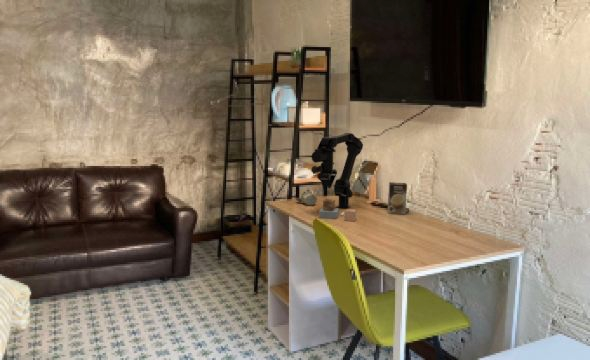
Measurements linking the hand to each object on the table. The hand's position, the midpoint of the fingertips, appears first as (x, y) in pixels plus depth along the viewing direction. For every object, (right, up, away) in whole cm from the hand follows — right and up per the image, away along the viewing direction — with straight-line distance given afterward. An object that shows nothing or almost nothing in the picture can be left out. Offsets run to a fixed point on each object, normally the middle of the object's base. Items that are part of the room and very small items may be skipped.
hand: (327, 189), depth 273 cm
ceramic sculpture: (-10, -9, +22) cm, 25 cm away
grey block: (0, -14, -9) cm, 17 cm away
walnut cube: (0, -10, -10) cm, 14 cm away
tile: (+10, -13, -5) cm, 17 cm away
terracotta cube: (+11, -15, -16) cm, 24 cm away
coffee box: (+37, -13, 0) cm, 39 cm away
